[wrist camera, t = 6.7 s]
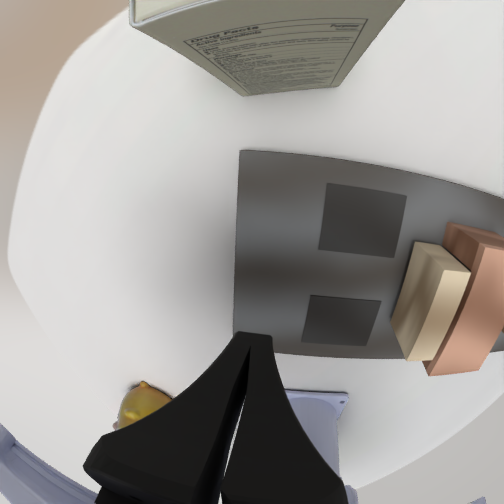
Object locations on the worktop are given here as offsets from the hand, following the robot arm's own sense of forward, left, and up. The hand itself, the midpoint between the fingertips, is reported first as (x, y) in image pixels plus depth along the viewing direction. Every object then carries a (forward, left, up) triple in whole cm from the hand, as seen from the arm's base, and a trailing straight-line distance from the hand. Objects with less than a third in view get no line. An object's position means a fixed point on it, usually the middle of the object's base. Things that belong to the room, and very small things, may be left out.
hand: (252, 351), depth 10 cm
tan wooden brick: (0, -19, -7) cm, 20 cm away
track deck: (0, -14, -9) cm, 17 cm away
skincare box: (+13, 0, -9) cm, 16 cm away
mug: (-22, +13, -9) cm, 27 cm away
